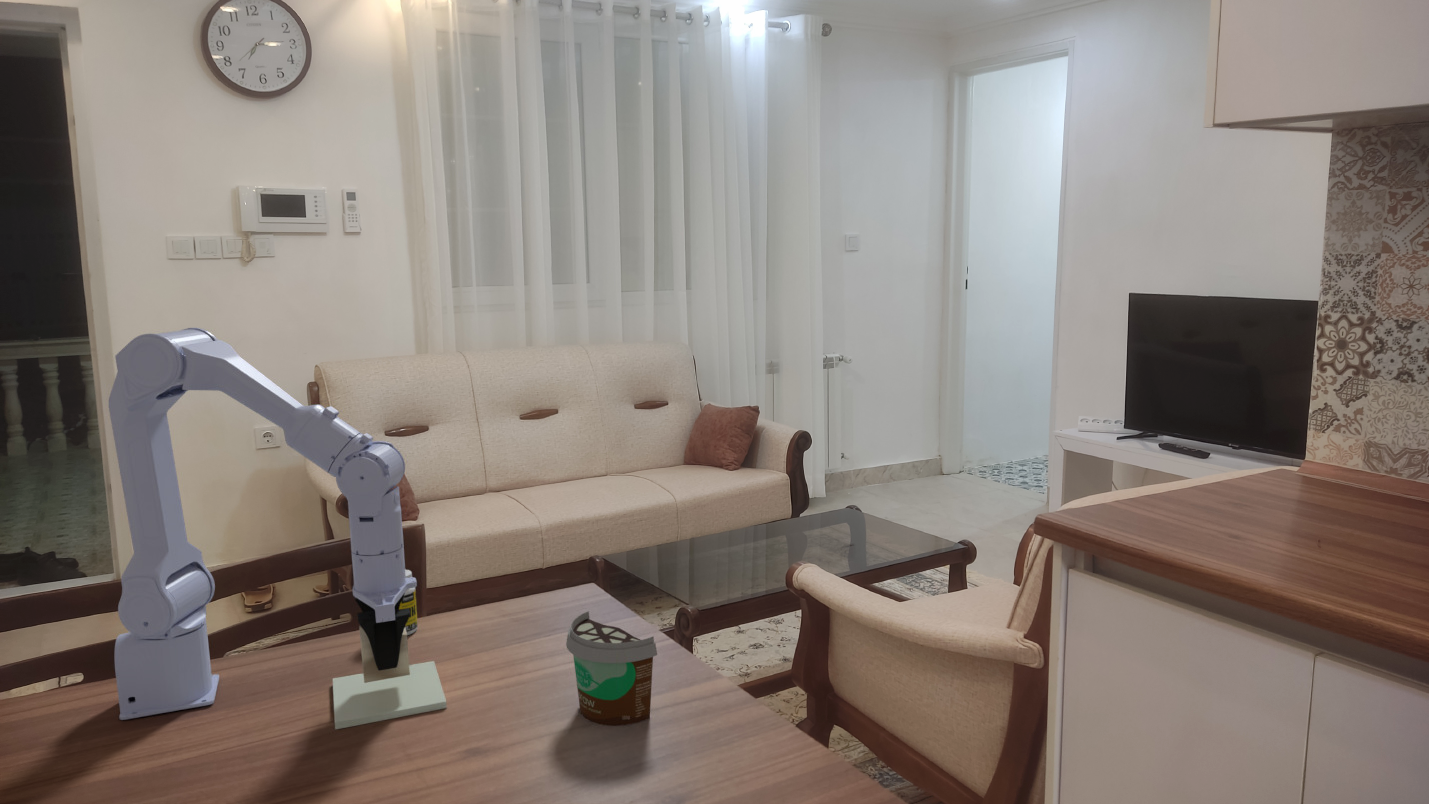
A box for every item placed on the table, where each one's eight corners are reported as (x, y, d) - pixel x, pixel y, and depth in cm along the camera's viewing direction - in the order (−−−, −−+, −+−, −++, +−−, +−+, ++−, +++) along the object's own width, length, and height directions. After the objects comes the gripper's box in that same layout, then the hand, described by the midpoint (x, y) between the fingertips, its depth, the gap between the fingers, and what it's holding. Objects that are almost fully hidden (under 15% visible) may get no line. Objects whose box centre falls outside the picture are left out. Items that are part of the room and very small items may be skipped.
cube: (364, 682, 107) (361, 641, 106) (362, 665, 112) (359, 626, 111) (409, 674, 109) (407, 634, 108) (405, 658, 113) (403, 619, 113)
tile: (335, 729, 103) (334, 722, 103) (333, 684, 114) (332, 678, 114) (446, 707, 108) (446, 701, 107) (434, 666, 119) (434, 660, 118)
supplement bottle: (406, 639, 127) (402, 580, 126) (375, 636, 128) (371, 578, 127) (424, 625, 132) (420, 569, 131) (394, 623, 133) (390, 567, 132)
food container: (546, 707, 108) (543, 625, 106) (588, 688, 112) (585, 609, 110) (617, 743, 99) (614, 655, 98) (659, 722, 104) (656, 637, 102)
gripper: (420, 561, 103) (427, 677, 105) (407, 527, 116) (414, 630, 118) (351, 570, 100) (361, 689, 102) (347, 534, 113) (355, 640, 115)
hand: (385, 658), depth 110 cm, fingers closed on cube, 5 cm apart
